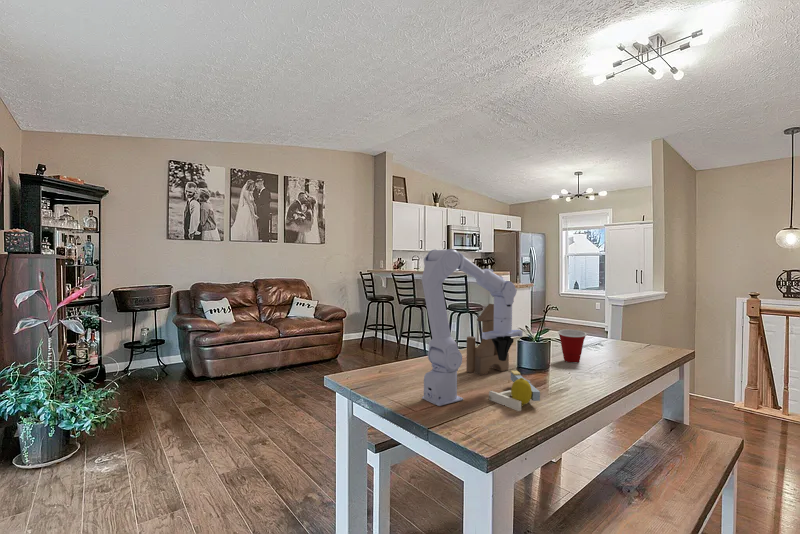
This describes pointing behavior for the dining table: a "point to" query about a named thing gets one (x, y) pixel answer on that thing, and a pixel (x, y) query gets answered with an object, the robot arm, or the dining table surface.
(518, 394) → the lemon
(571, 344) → the plastic cup
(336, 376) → the dining table surface
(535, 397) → the lever
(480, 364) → the wooden toy
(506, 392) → the cream l-shaped bracket
